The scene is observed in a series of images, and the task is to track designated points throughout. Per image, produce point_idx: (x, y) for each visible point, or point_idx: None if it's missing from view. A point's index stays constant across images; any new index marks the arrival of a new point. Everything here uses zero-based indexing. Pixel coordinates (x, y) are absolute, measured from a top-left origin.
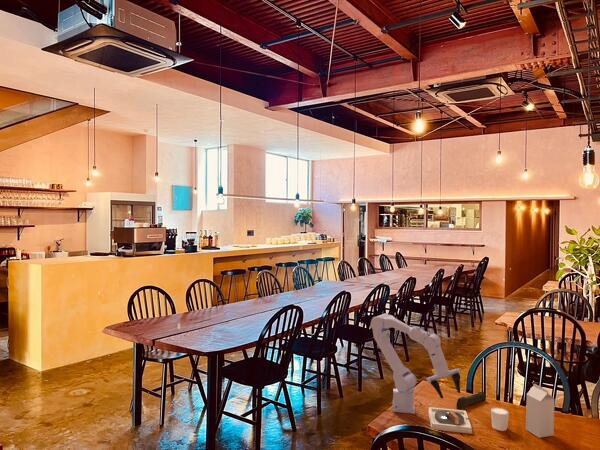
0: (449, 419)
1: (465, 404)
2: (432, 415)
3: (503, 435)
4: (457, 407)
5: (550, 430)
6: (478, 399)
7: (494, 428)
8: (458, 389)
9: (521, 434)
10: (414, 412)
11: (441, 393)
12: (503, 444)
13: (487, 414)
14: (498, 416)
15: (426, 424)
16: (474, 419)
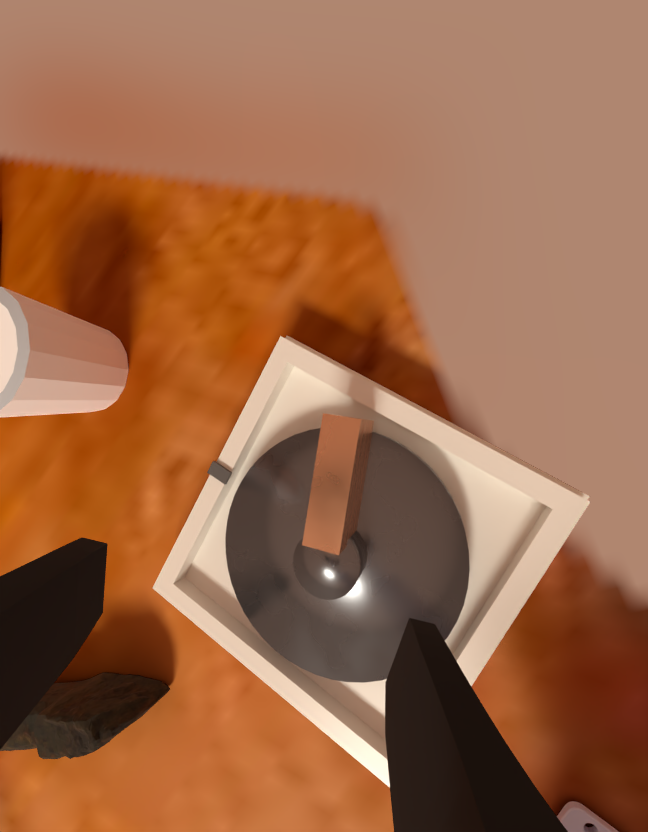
0: (364, 510)
1: (90, 685)
2: (472, 639)
3: (134, 278)
4: (160, 687)
5: None
6: None
7: (126, 363)
8: (51, 573)
9: (47, 270)
10: (573, 813)
11: (443, 693)
12: (201, 180)
13: (53, 532)
14: (35, 309)
15: (571, 580)
16: (159, 506)
